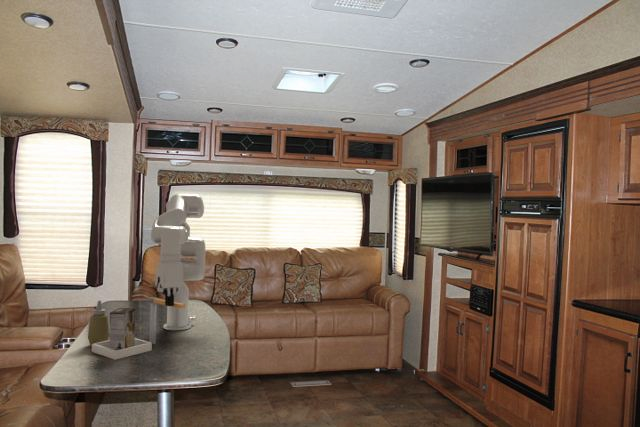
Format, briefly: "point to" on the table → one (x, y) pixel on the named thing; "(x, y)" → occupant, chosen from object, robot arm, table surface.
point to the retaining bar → (161, 301)
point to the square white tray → (139, 344)
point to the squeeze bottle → (98, 325)
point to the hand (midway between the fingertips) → (169, 305)
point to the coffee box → (122, 328)
